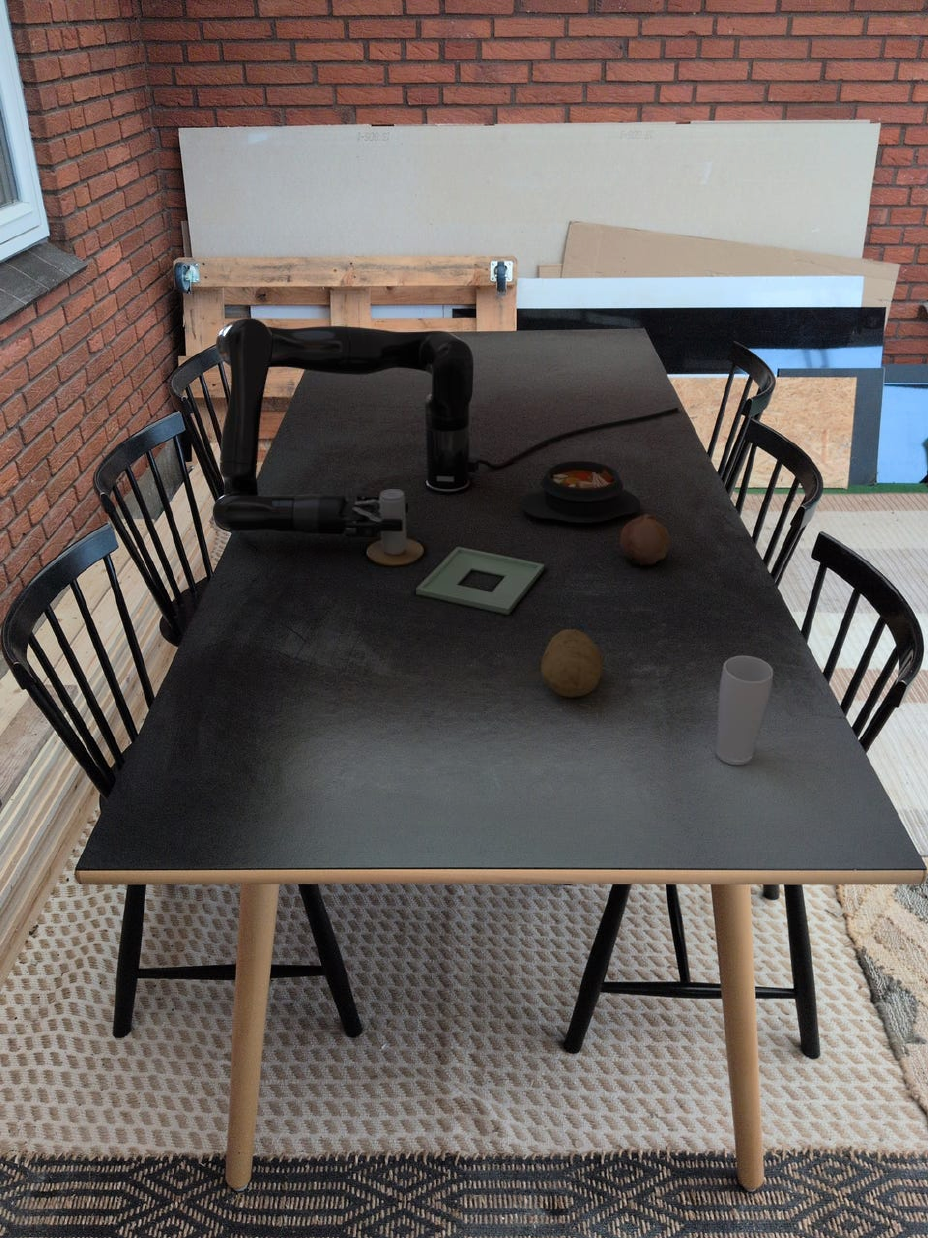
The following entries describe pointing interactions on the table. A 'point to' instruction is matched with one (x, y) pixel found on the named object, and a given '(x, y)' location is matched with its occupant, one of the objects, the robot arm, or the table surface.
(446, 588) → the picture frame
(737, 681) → the drinking glass
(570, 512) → the casserole
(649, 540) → the onion
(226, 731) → the table surface
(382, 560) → the coaster
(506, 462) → the robot arm
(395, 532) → the beverage can
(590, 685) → the potato
